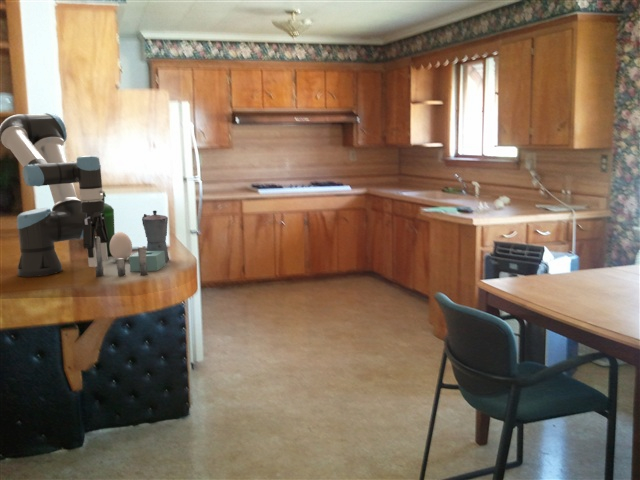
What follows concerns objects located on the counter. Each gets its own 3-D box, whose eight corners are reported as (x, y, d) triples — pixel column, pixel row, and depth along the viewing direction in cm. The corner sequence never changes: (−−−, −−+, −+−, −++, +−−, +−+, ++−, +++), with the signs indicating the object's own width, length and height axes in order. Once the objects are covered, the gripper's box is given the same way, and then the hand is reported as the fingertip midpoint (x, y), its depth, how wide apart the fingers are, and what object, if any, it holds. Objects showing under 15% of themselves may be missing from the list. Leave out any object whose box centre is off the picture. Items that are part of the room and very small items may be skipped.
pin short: (116, 276, 228) (115, 259, 227) (119, 274, 231) (118, 258, 230) (124, 276, 228) (122, 259, 227) (126, 274, 231) (125, 257, 230)
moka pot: (159, 265, 244) (155, 212, 241) (134, 261, 254) (129, 210, 250) (179, 260, 252) (175, 209, 248) (153, 257, 261) (149, 207, 258)
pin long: (94, 276, 229) (90, 237, 226) (97, 275, 231) (93, 236, 229) (102, 276, 229) (98, 237, 226) (104, 274, 231) (101, 236, 229)
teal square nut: (130, 271, 235) (129, 256, 234) (139, 265, 245) (138, 251, 244) (157, 270, 235) (156, 255, 234) (165, 264, 244) (164, 250, 243)
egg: (106, 261, 256) (103, 232, 254) (124, 257, 263) (122, 229, 261) (119, 263, 251) (116, 234, 249) (138, 259, 257) (135, 231, 255)
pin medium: (138, 275, 228) (136, 247, 226) (141, 273, 230) (139, 246, 228) (146, 275, 227) (143, 247, 226) (148, 273, 230) (146, 246, 228)
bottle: (98, 252, 275) (92, 187, 270) (122, 252, 274) (116, 186, 269) (86, 258, 265) (79, 190, 260) (110, 257, 263) (104, 189, 259)
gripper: (89, 203, 214) (96, 269, 218) (114, 196, 236) (120, 257, 240) (67, 204, 215) (75, 270, 219) (94, 197, 236) (100, 257, 240)
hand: (98, 263), depth 229 cm, fingers open, 9 cm apart
